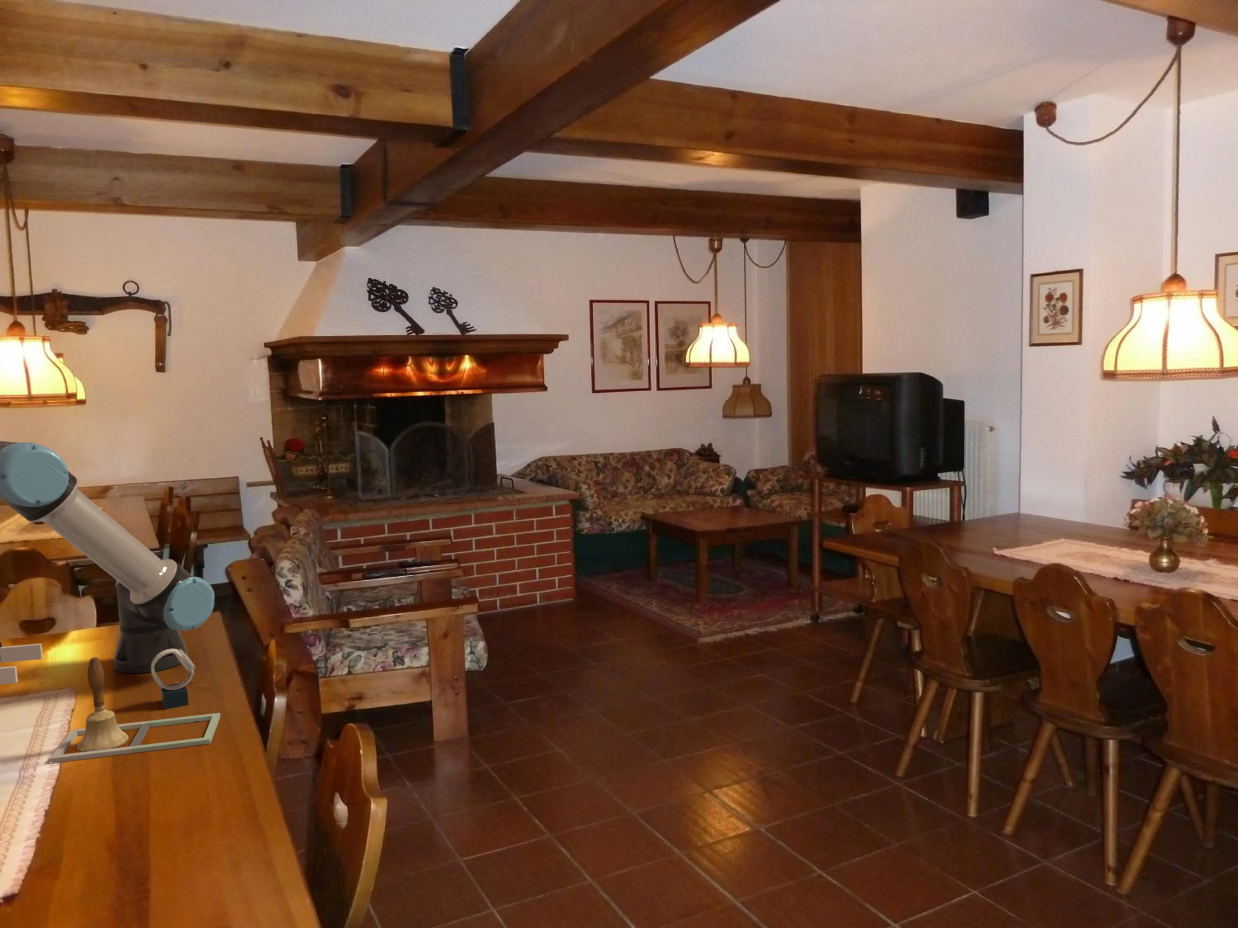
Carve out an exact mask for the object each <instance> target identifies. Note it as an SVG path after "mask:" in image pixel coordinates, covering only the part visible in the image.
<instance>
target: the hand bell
mask: <svg viewBox="0 0 1238 928" xmlns="http://www.w3.org/2000/svg"><path fill="white" fill-rule="evenodd" d="M87 681H88V684H89V687H90V690H91V691H92V696H93V698H92V699H93V710H94V711H93V712H92V713H90V714H89V715H87V717H86V720H85V722H86V723H85V725H86V726H85V728H86V730H85V734H84V735H82V738H81V739H80V740H79V741H78V743H77V745H76V748H75V749H76V751H78V752H79V753H80V752H89V751H97V750H105V749H114V748H120V747H121V746H122V745H124V744H126V743H127V742H128V740H129V735H128V734H127V733H126V732H124V730H121V729H120V728H119V726H118V724H119V723H117V719H116V714H115V712H114V711H112V710H108V709H106V705H105V700H104V693H103V692H104V685H105V672H104V668H103V666H102V664H101V662H100V659H99V657H91V658H90V659H89V664H88V668H87Z"/></svg>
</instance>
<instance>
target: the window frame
mask: <svg viewBox="0 0 1238 928" xmlns="http://www.w3.org/2000/svg"><path fill="white" fill-rule="evenodd" d="M220 719H221V712H216V713H215V712H214V713H208V714H207V713H206V714H199V715H198V714H197V715H189V716H188V715H187V716H182V717H181V716H179V717H172V718H164V719H163V718H162V719H156V720H147V721H138V722H127V723H121V724H120V723H117V724H118V726H119V728H120V729H121V730H122V731H128V730H135V729H136V730H138V731H137V733H136V735H135V736H134V737H133V739H132V741H131V743H130V744H129V746H125V747H124V746H123V747H116V748H113V749H105V750H97V751H89V752H80V751H79V752H74V753H66V752H67V750H68V749H69V748H70V746H71V745H72V744H73V742H74V741H75V739H76V738H77V737H78V736H84V734H85V730H86V727H84V728H83V727H82V728H75V729H71V730H70V731H69V733H68V734H67V735H66V736H65V737H64V739H63V740H62V742H61V743H60V744H59V746H58V747H57V748H56V750H55V751H54V752H53V753H52V755H51V756H50V757H49V763H50V762H56V761H57V762H56V763H63V762H71V761H79V760H87V759H94V758H97V759H98V758H104V757H112V756H119V755H127V754H135V753H136V754H137V753H143V752H144V753H145V752H152V751H160V750H162V751H163V750H169V749H176V748H184V747H194V746H202V745H203V746H204V745H211V743H212V739H213V737H214V734H215V733H216V730H217V726H218V724H219V722H220ZM195 721H199V722H207V721H209V723H208V726H207V729H206V731H205V734H204V736H203V737H198V738H191V739H189V738H188V739H183V740H182V739H181V740H174V741H167V742H166V741H165V742H159V743H158V742H157V743H150V744H149V743H148V744H142V741H143V740H144V738H145V737H146V735H147V733H148V732H149V729H150V728H153V727H163V726H171V725H178V724H180V725H181V724H188V723H196V722H195ZM218 721H219V722H218Z"/></svg>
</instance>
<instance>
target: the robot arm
mask: <svg viewBox="0 0 1238 928" xmlns="http://www.w3.org/2000/svg"><path fill="white" fill-rule="evenodd" d="M78 486H79V479H78V478H77V477H76V476H75V475H74V474H73V473H71V472H70V471H69V469H68V467H67V464H66V461H65V460H64V458H62V457H61V455H60V454H58V453H57V452H56V451H54V450H53V449H51V448H50V447H47V446H44V445H42V444H39V443H35V442H26V441H25V442H17V441H16V442H12V441H1V440H0V502H2V503H4V504H6V505H7V506H8V507H10V508H11V509H12V510H14V511H15V512H16V513H17V514H19V515H20V516H21V517H23V518H24V519H25V520H26V521H28V522H30V523H39V522H42V523H44V524H45V525H47V526H48V527H49V528H50V529H52V530H53V531H54V532H55V533H56V534H58V535H59V536H60V537H62V538H63V539H65V540H66V541H67V542H68V543H69V544H71V546H73V547H74V548H76V549H77V550H78V551H80V553H82V554H83V555H85V556H86V557H87V558H89V560H91V561H92V562H94V563H95V564H96V565H97V566H98V567H99V568H101V569H102V570H103V571H105V572H106V573H107V574H108V575H109V576H111V577H112V578H114V580H115V588H116V597H117V598H116V599H117V608H118V609H117V610H118V618H119V629H120V630H119V632H120V634H119V639H118V641H117V646H116V649H115V653H114V658H113V665H114V671H116V672H119V673H123V674H124V673H125V674H143V673H151V663H152V661H153V659H154V658H155V657H156V656H157V655H158V654H159V653H160V652H162V651H164V650H167V649H177V650H180V649H181V650H182V651H183V652H184V653H185V654H186V655H187V656H188V654H189V653H188V647H187V645H186V643H185V641H184V639H183V637H182V634H181V631H183V632H185V631H186V632H187V631H192V630H195V629H197V628H199V627H200V626H202V625H203V624H205V622H206V621H207V620H208V618H210V616H211V615H212V612H213V610H214V607H215V597H216V596H215V591H214V588H213V587H212V586H211V584H210V583H209V582H207V581H206V579H204V578H202V577H198V576H193V575H192V574H190V573H189V572H188V571H187V570H186V569H185V568H183V567H182V566H181V565H180V564H179V563H177V562H176V561H175V560H174V559H171V558H168V559H161V558H160V557H159V556H157V555H156V554H155V553H154V552H152V550H150V548H148V547H147V546H145V545H144V544H143V543H142V542H141V541H140V540H139V539H137V538H136V537H135V536H133V535H132V534H131V533H130V532H128V531H127V529H125V528H124V527H123V526H122V525H120V523H118V522H117V521H116V520H115V519H113V518H112V517H111V516H109V514H108V513H106V512H105V511H104V510H103V509H102V508H100V506H98V505H96V504H95V502H93V501H92V500H91V499H90V498H88V497H87V496H86V495H85V494H83V493H82V492H81V491H80V490H79V487H78ZM2 644H3V643H2V642H0V663H1V664H2V663H3V664H4V663H15V662H24V661H26V662H27V661H35V660H42V659H43V646H42V643H33V644H22V645H21V644H20V645H8V646H3V645H2ZM188 657H189V656H188ZM178 665H182V664H181V663H180V661H179V660H178V659H177V657H176V655H175V654H174V653H170V654H166V655H164V656H162V657H161V658H160V659H158V661H157V662H156V663H155V665H154V669H155V672H157V671H162V670H167V669H170V668H173V667H177V666H178ZM17 670H18V669H17V665H12V666H2V667H0V685H8V684H9V685H10V684H17V683H18V682H19V681H18V680H19V679H18V671H17ZM153 671H154V670H153Z"/></svg>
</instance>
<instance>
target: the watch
mask: <svg viewBox="0 0 1238 928" xmlns="http://www.w3.org/2000/svg"><path fill="white" fill-rule="evenodd" d="M170 653H174V654H175V655H176V657H177V659H178V660H179V661H180V663H181V664H180V665H181V666H182V667H183V668H184V669H185V670H186V671H187V672H189V674H188V675H187V677H186V678H185V679H184V680H183V681H181V682H177V683H172V684H165V682H164V681H163V680H162V679H161V678H160V677H159V676H158V674H157V671H155V669H154V665H155V663H156V662H157V661H158V659H160V658H161V657H162V656H164V655H166V654H170ZM194 669H196V666H195V664H194V663H193V661H192V659H190V657H189V656H187V655H186V654H185V653H184V652H183V651H182V650H181V649H180V650H177V649H167V650H164V651H162V652H160V653H159V654H158V655H157V656H156V657H155V658H154V659H153V661H152V663H151V672H150V673H151V676H152V679H153V680H154V682H155V683H156V684H157V685H158V686H159V688H160V691H161V693H160V694H161V703H162V706H163V709H164V710H169V709H174V708H175V709H176V708H180V707H185V706H189V697H188V696H189V695H188V688H187V685H188V684H189V683H190V682H191V681H192V679H193V676H194V674H195V673H194ZM153 670H154V671H153Z"/></svg>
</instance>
